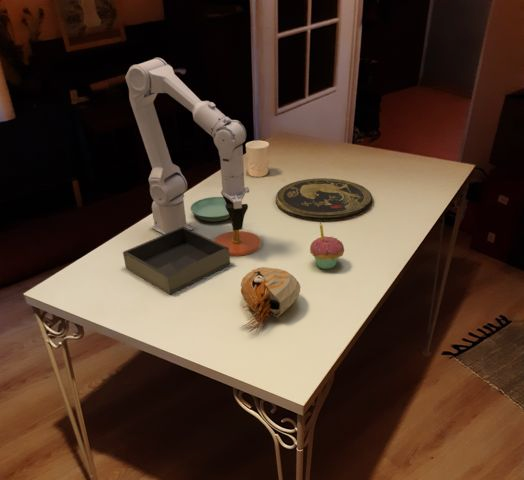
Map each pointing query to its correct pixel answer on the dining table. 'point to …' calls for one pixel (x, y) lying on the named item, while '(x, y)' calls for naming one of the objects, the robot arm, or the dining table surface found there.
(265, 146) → the white cup
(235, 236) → the orange round pegged disc
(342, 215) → the decorative plate
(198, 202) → the saucer
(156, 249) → the tray
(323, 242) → the cupcake
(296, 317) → the dining table surface
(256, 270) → the nautilus shell
